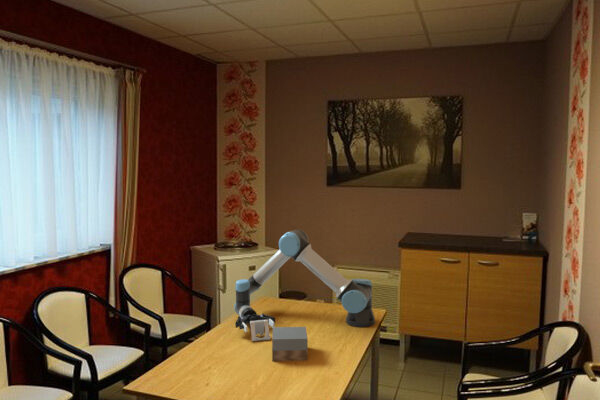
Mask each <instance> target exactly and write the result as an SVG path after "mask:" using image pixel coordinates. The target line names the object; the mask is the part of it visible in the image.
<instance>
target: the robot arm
mask: <svg viewBox="0 0 600 400" xmlns="http://www.w3.org/2000/svg"><path fill="white" fill-rule="evenodd" d="M278 248H279V249H278V250H277V251H276V252H275V253H274V254H273V255H271V257H269V259H267V260H266V262H264V263H263V265H262V266H260V267H259V269H258V270H256V271H255V272H254V273H253V274H252V275H251V276H250V277H248V279H245V278H243V279H238V280H236V282H235V288H234V289H235V303H234V307H233V308H234V311H235V313H236V315H238V316H237V320H236V321H235V329H238V328H239V330H243V332H245V333H248V326H247V325H248V324H249V325H250V321H257V320H268V325H269V327H271V328H272V329H273V327H276V326H275V323H276V317H274V316H271V315H268V314H265V313H261V314H257V311H256V310H254V309H253V307H252V306H251V295H252V294H253V293H255V292H256V291H258V290H259V289H261V287H262V286H263V284H264V283H266V282H267V281H268V279H270V278H271V277H272V276H273V275H274V274H275V273H276V272H277V271H278V270H279V269H280V268H281V267H282V266H283V265H284V264H285V263H286V262H288V261H289V260H290V259H292V260H293V261H295V262H301V264H303V265H304V266H305V267H306V268H307V269H308V270H309V271H311V273H313V274H314V275H315V276H316V277H317V278H318V279H320V280H321V281H322V282H323V283H324V285H327V286H328V287H329V289H331V290H332V291H333V292H334V293H335V294H336V299H338V300H339V301H340V302H341V304H342V307H343V309H344V310H345V311H346V312H347V314H346V317H345V322H346V325H349V326H351V327H356V328H357V327H358V328H368V327H372V326H374V325H375V324H376V317H375V315H374V312H373V306H372V305H373V302H372V301H373V300H372V299H373V296H372V295H373V291H372V290H373V284H372V283H373V282H372V281H371V280H370V279H365V278H351V279H347V278H346V277H344V276H343V275H342V274H341V273H340V272H339V271H338V270H337V269H335V268H334V267H333V266H332V265H331V264H329V263H328V262H327V261H326V259H324V258H322V257H321V256H320V255H319V254H318V253H317V252H316V251H314V249H312V244H311V243H310V242H309V237H308V234H307V233H306V232H305V231H304V230H302V229H300V228H299V229H293V230H289V231H287V232H285V233H284V234H283V235H282V236H281V237H280V238H279V240H278Z"/></svg>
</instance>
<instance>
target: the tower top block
mask: <svg viewBox="0 0 600 400" xmlns="http://www.w3.org/2000/svg"><path fill="white" fill-rule="evenodd" d="M271 337H272V341H271V342H272V344H271V348H272V349H271V352H272V351H287V350H307V351H308V344H309V343H308V342H309V341H308V333H307V327H306V326H279V327H278V326H275V327H273V328H272V336H271Z"/></svg>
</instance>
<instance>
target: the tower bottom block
mask: <svg viewBox="0 0 600 400" xmlns="http://www.w3.org/2000/svg"><path fill="white" fill-rule="evenodd" d="M271 355H272V357H271V358H272V359H271V360H272V362H295V361H297V362H299V361H300V362H301V361H305V362H306V361H308V350H287V351H272V350H271Z"/></svg>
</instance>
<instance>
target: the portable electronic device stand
mask: <svg viewBox="0 0 600 400" xmlns="http://www.w3.org/2000/svg"><path fill="white" fill-rule="evenodd" d="M249 326H250V333H251V342H252V341H255V342H259V341H260V342H261V341H262V340H263V341H270V340H271V335H270V328H269V327H270V325H269V323H268V320H257V321H250V324H249ZM264 334H265V336H264ZM256 335H260V336H263V337H259V336H256Z"/></svg>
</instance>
